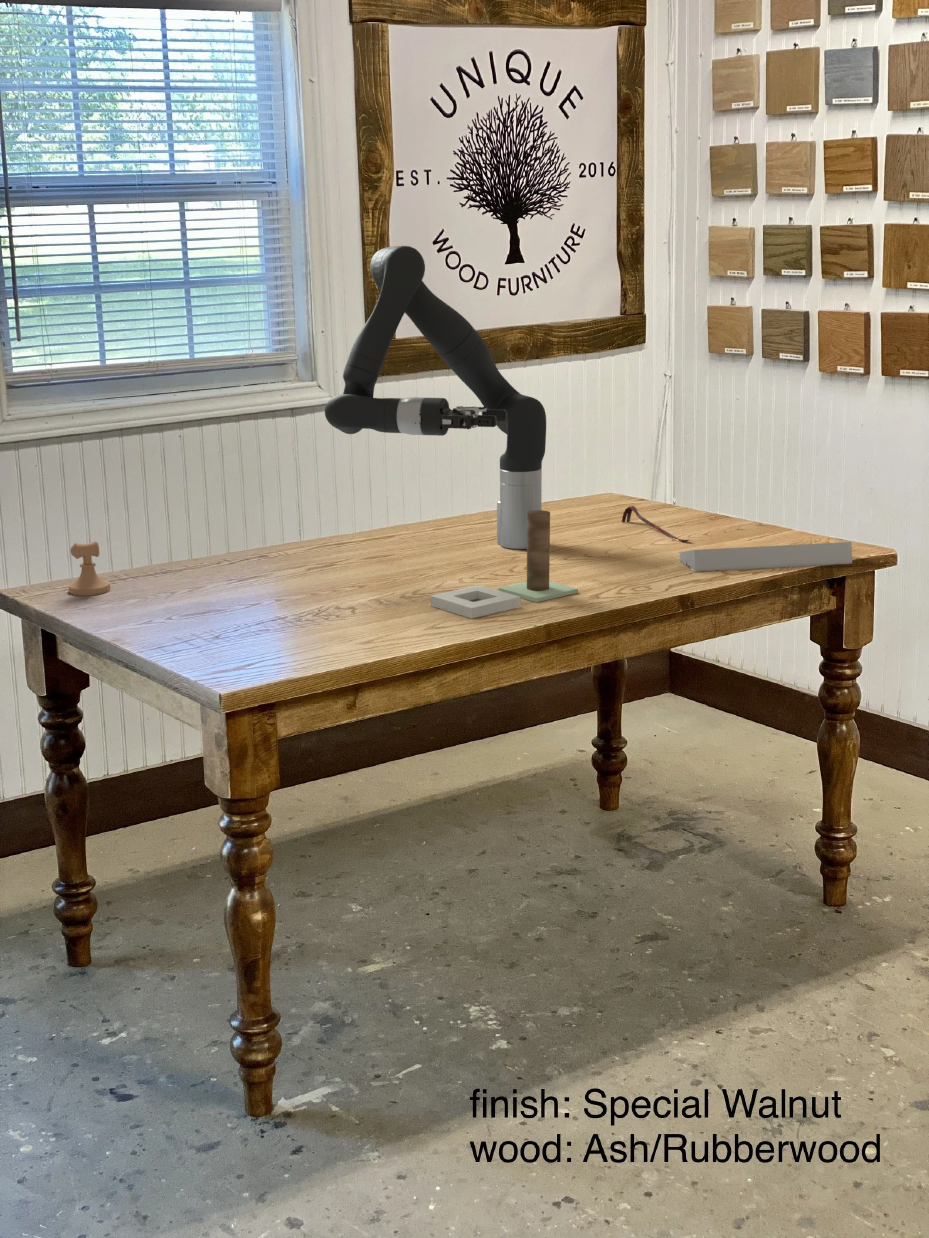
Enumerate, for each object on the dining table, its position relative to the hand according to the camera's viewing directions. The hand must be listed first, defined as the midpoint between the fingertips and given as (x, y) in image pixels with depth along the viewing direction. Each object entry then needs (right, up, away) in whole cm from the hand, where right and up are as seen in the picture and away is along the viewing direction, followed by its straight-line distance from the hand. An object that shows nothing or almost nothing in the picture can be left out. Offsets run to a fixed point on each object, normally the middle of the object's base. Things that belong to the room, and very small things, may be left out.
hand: (501, 418), depth 289 cm
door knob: (-82, -34, 0) cm, 89 cm away
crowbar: (+37, -20, +46) cm, 62 cm away
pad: (+7, -35, -5) cm, 36 cm away
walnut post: (+7, -34, -6) cm, 35 cm away
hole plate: (-5, -38, -15) cm, 41 cm away
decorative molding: (+56, -29, +17) cm, 65 cm away
